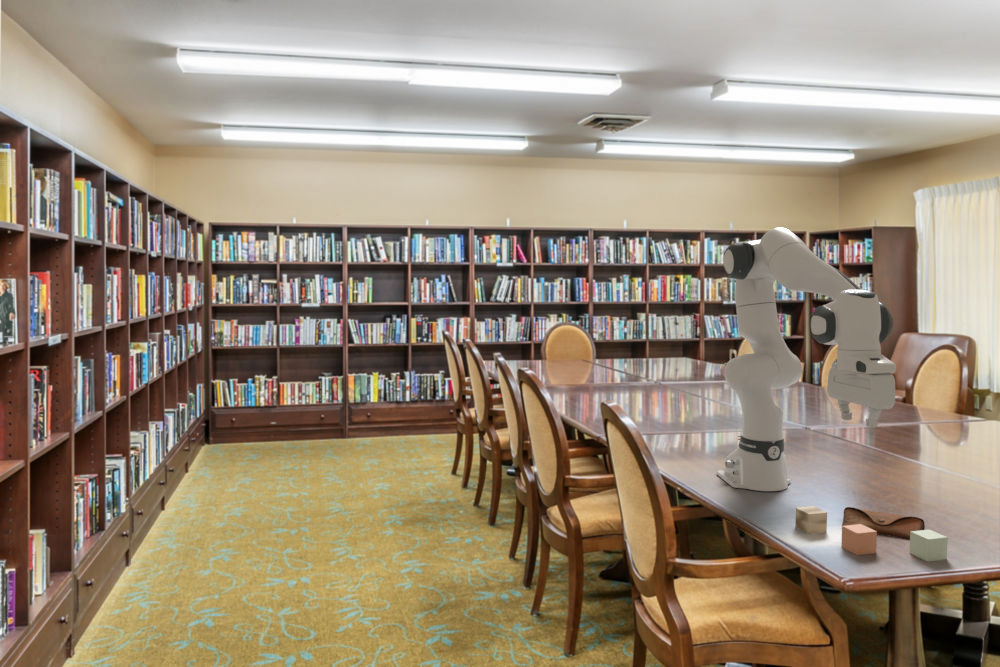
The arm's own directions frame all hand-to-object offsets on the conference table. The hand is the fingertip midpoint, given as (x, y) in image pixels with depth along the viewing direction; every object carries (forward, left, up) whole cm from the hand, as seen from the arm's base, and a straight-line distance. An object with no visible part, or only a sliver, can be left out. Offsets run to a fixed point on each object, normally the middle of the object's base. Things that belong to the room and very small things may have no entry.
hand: (858, 423), depth 166 cm
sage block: (+9, +11, -29) cm, 32 cm away
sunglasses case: (-7, +14, -29) cm, 33 cm away
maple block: (-12, -3, -29) cm, 31 cm away
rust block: (+2, -1, -29) cm, 29 cm away
